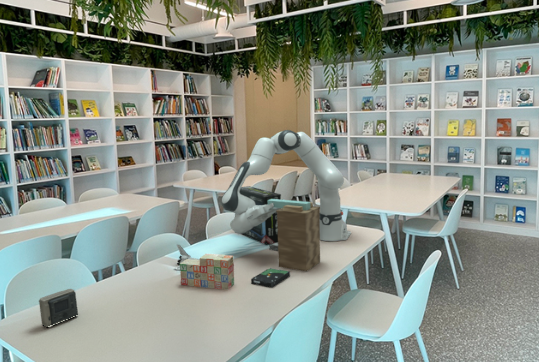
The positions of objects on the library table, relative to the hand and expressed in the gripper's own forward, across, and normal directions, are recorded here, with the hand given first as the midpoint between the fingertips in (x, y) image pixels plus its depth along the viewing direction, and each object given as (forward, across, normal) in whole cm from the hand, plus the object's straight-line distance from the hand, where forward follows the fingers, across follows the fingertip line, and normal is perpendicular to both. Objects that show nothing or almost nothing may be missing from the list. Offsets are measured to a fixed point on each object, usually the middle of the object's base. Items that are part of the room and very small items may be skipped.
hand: (278, 202), depth 200 cm
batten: (+4, 0, +4) cm, 6 cm away
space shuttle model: (-40, -23, +10) cm, 47 cm away
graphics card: (-21, +24, +21) cm, 39 cm away
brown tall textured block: (-5, 0, +29) cm, 30 cm away
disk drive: (-7, -22, +29) cm, 37 cm away
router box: (-42, +31, +8) cm, 53 cm away
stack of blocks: (-25, -38, +18) cm, 49 cm away
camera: (-45, -88, +6) cm, 99 cm away
